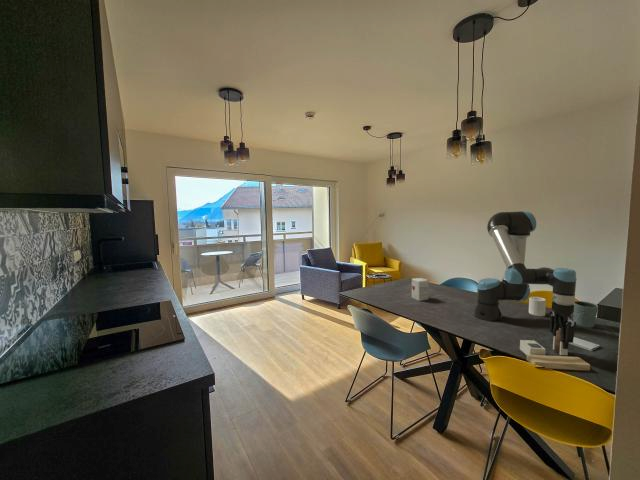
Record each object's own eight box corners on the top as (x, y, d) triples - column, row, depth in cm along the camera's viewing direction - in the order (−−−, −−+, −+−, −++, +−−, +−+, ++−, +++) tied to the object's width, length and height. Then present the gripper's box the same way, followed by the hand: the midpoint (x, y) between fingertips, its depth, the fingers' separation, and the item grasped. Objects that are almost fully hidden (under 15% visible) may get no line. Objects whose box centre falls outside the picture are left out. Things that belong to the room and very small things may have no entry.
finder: (519, 349, 128) (520, 339, 128) (533, 349, 127) (534, 339, 127) (529, 357, 120) (530, 347, 120) (545, 358, 119) (545, 348, 119)
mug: (551, 313, 170) (552, 298, 169) (540, 317, 165) (541, 301, 164) (537, 309, 177) (537, 295, 176) (525, 312, 172) (526, 297, 171)
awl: (553, 350, 126) (554, 326, 125) (561, 351, 126) (562, 327, 124) (558, 354, 123) (559, 330, 122) (566, 355, 122) (568, 330, 121)
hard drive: (600, 345, 128) (568, 334, 139) (591, 348, 125) (559, 337, 136) (600, 348, 128) (568, 337, 140) (591, 352, 125) (558, 340, 136)
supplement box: (411, 297, 210) (411, 278, 208) (420, 296, 212) (421, 277, 211) (418, 301, 201) (418, 281, 199) (428, 299, 204) (429, 280, 202)
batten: (526, 359, 119) (526, 354, 119) (578, 362, 116) (578, 357, 116) (534, 367, 113) (535, 361, 113) (589, 370, 110) (590, 364, 110)
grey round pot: (578, 319, 159) (579, 300, 158) (601, 326, 150) (602, 305, 149) (567, 322, 156) (569, 302, 155) (590, 329, 146) (592, 308, 145)
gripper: (541, 296, 131) (539, 343, 133) (567, 309, 114) (563, 361, 117) (559, 297, 129) (556, 343, 132) (587, 309, 113) (583, 362, 115)
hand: (560, 352), depth 124 cm, fingers open, 4 cm apart
